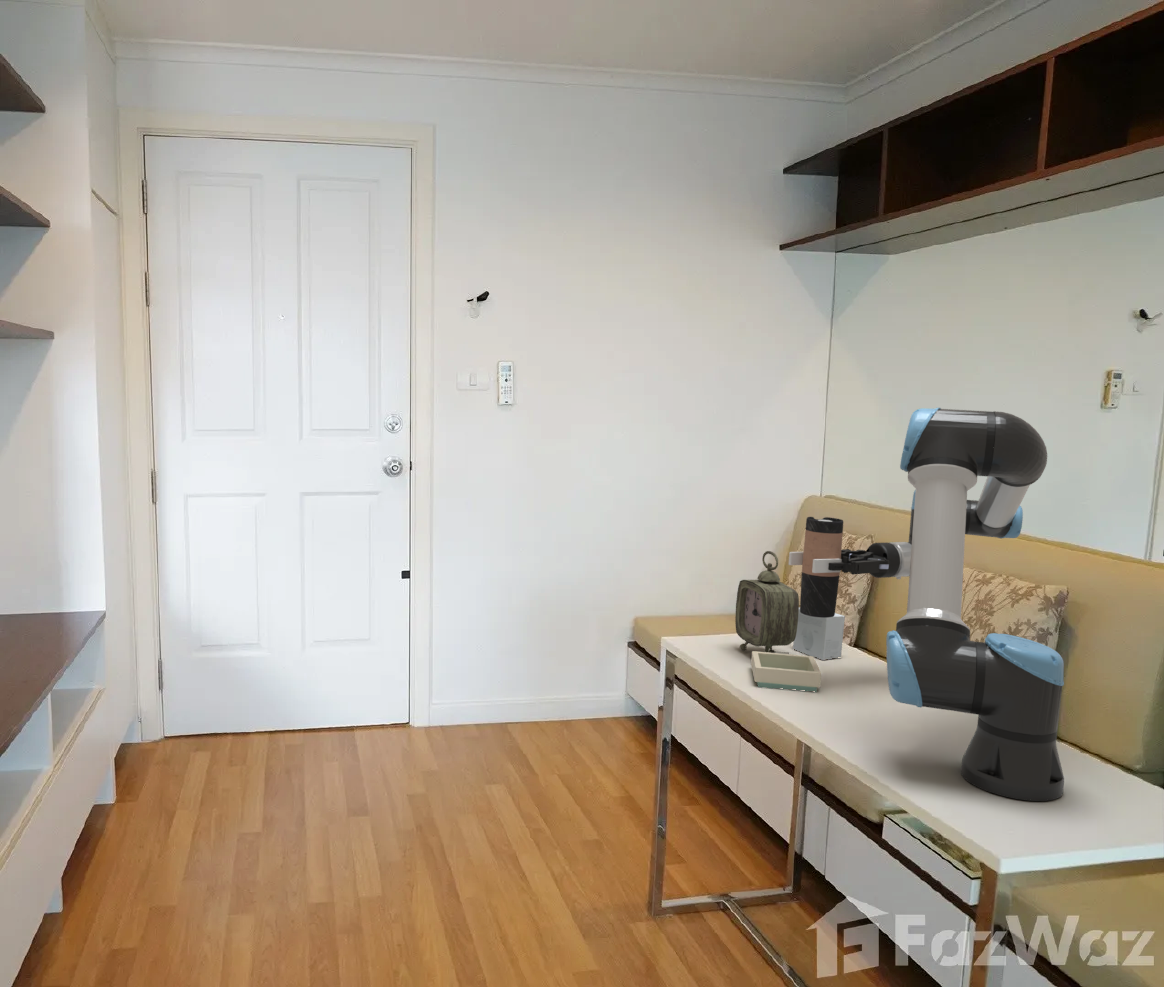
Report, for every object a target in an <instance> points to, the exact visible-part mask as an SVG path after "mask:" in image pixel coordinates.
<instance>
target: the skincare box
mask: <svg viewBox="0 0 1164 987" xmlns="http://www.w3.org/2000/svg"><path fill="white" fill-rule="evenodd" d="M845 620H846V615H843V614H839V613H837V612H835V615H834V616H833V617H828V618H821V617H812V616H807V615H804V614H802V613H801V612H800V606H799V614H798V625H797V633H796V638H795V640H794V641H793V642H792V643H793V644H792V650H793V649H795V650H794V651H796V650H797V651H796V652H799V651H800V652H799V653H801V652H802V654H804V653H805V655H806V656H813V657H814V658H815V657H817V658H816V659H818V658H819V659H818V660H820V659H821V661H825V659H828V660H833V659H832V658H838V657H841V658H842V651H843V650H842V649H843V641H844V640H843V639H844V629H845ZM838 659H839V658H838Z"/></svg>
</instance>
